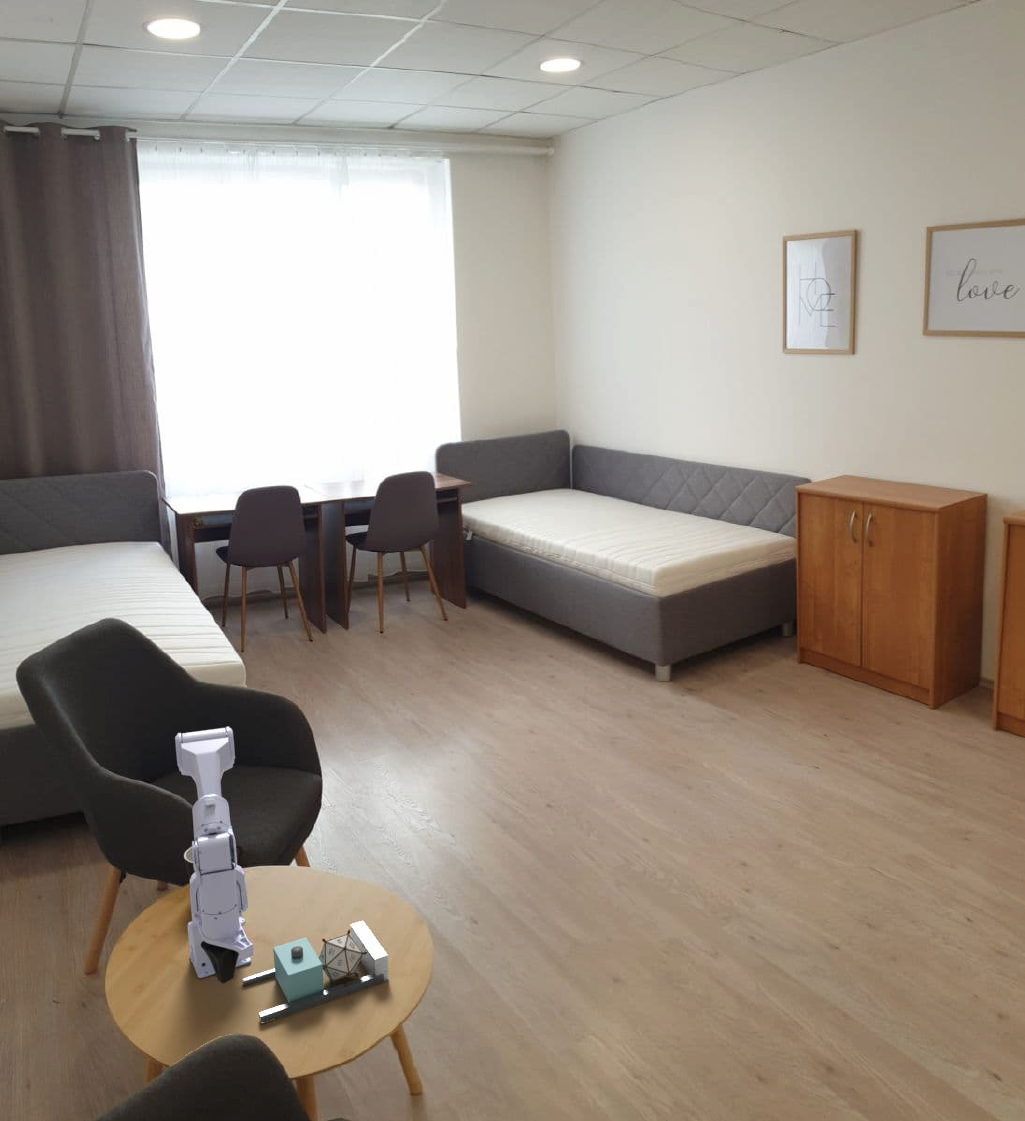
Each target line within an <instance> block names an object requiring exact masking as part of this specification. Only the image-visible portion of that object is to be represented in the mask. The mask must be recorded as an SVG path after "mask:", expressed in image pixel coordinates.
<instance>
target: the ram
mask: <svg viewBox="0 0 1025 1121" xmlns="http://www.w3.org/2000/svg"><path fill="white" fill-rule="evenodd" d="M272 949H273V950H272V951H273V962H274V968H275V976H274V977H275V979H276V981H277V983H278V984H279V986H280V989H281V990H282V992H283V995H284V996H285V998H286V1000H287V1003H288V1002H291V1001H294V1000H297V999H300V998H303V997H306V996H309V995H312V994H315V993H318V992H321V991H324V990H325V987H324V986H325V985H324V984H325V983H324V970H323V968H322V963H321V961H320V960H319V957H318V954H317V953H316V951H315V950H314V948H313V947H312V945H311V943H310V941H309V940H308V938H307V937H306V936H305V937H302V938H299V939H295V940H293V941H289V942H286V943H283V944H281V945H276V946H273V947H272Z"/></svg>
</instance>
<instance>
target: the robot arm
mask: <svg viewBox="0 0 1025 1121" xmlns="http://www.w3.org/2000/svg"><path fill="white" fill-rule="evenodd" d="M174 740H175V752H176V753H175V754H176V762H177V767H178V769H179V772H181V775H182V776H188V777H189V776H190V777H191V778H192V780H194V783H195V785H196V790H197V791H196V792H197V800H196V802H195V803H194V804H193V806H192V812H191V813H192V821H193V824H192V825H193V838H194V840H192V841H191V847H192V854H193V865H194V870H195V873H194V874H193V875H192V876H191V879H190V880H189V897H190V911H191V921H189V922H187V936H188V946H189V958H190V962H191V963H192V965H193V968H194V970H195V972H196V975H197V978H198V979H203V978H206V977H210V976H212V975H215V976H216V978H217V981H219V982H220V983H221V984H222V985H224V984H226V983H227V982H229V981H231V980H232V979H234V977H235V971H236V968H238V967H241V966H244V965H246V964H247V965H248V964H250V963H251V962H252V959H251V957H252V956H254V955H255V954H254V944H253V943H252V942H250V940H249V939H248V938H249V937H248V936H247V935H246V932H245V931H244V928H243V927H244V926H245V925H246V923H247V922H246V919H245V918H243V913H242V912H244V913H245V912H246V911H247V909H248V907H249V904H248V902H249V901H248V893H247V892H248V891H247V882H246V878H245V872H244V870H243V867H242V866H240V865H238V864H237V859H238V854H237V848H236V845H237V844H236V838H235V834H234V831H233V826H232V825H231V824H232V823H231V816H230V806H229V803H228V802H229V801H227V799H226V798H224V797H223V796H222V795H223V794H222V784H221V781H222V777H223V774H224V772H226V771H229V770H230V769H232V768H233V767H234V764H235V759H236V755H235V754H236V753H235V740H234V731H233V729H232V728H231V727H230V726H226V727H220V728H214V729H212V728H211V729H206V730H199V731H198V730H197V731H191V732H185V733H184V732H183V733H181V732H178V733H177V734H176V736H175V737H174ZM232 859H233V861H234V862H233V861H232Z"/></svg>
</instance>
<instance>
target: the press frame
mask: <svg viewBox="0 0 1025 1121" xmlns="http://www.w3.org/2000/svg"><path fill="white" fill-rule="evenodd" d="M350 936H351V938H352V939H353V940H354V942H355V943H356V944H357V946H358V947H359V948H360V950H361V951H362V952H365V951H366V952H368V953H367V954H365V955H364V954H363V955H362V958H361V961H360V963H361V964H362V966H363V967H364V969H365V971H366V972H367V973H368V974H367V975H365V976H362V977H360V978H359V977H358V978H357V979H353V980H350V981H347V982H345V983H342V984H338V985H336V986H333V987H332V986H331V987H330V988H327V989H324V991H321V992H318V993H315V994H312V995H309V996H306V997H303V998H300V999H297V1000H294V1001H291V1002H288V1001H287V1002H286V1003H283V1004H280V1005H277V1006H275V1007H272V1008H269V1009H265V1010H263V1011H260V1012H258V1017H259V1019H260V1020H259V1022H260V1021H261V1022H267V1021H270V1020H273V1019H276V1020H278V1019H277V1018H279V1019H281V1018H280V1017H282V1018H284V1016H285V1017H287V1015H288V1016H291V1015H292V1014H296V1013H299V1012H302V1011H304V1010H307V1009H310V1008H313V1007H316V1006H319V1005H322V1004H324V1003H328V1002H330V1001H331V1002H332V1001H333V1000H336V999H338V998H342V997H345V996H347V995H350V994H354V993H356V992H359V991H361V990H366V989H368V988H371V987H374V986H376V985H380V984H382V983H385V982H386V981H388V980H390V979H389V964H388V963H389V961H388V960H389V959H388V954H387V952H386V951H385V950H384V948H383V947H382V946H381V944H380V943H379V941H378V940H377V939H376V937H375V936H374V934H373V933H372V931H371V929H369V927H368V926H367V925H366V923H365V922H364V921H363V920H362V921H361V920H360V921H358V922H355V923H352V924H350ZM273 977H275V967H273V968H272V969H270V970H266V971H263V972H259V973H256V974H253V975H249V976H247V977H244V978H242V979H241V981H242V986H243V987H246V986H249V985H253V984H256V983H258V981H259V982H261V980H262V981H265V980H267V979H270V978H273ZM273 1021H274V1020H273ZM270 1022H271V1021H270ZM267 1023H268V1022H267Z"/></svg>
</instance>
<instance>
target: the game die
mask: <svg viewBox="0 0 1025 1121" xmlns="http://www.w3.org/2000/svg"><path fill="white" fill-rule="evenodd" d="M321 941H322V942H323V943H324V944H323V947H322V949H321V951H320V955H319V957H318V958H319V960H320V961H321V963H322V968H323V973H325V974H326V975H327V977H328V979H330V981H331V982H330V983H329V986H330V987H332V986H334V982H337V981H340V980H342V979H346V978H348V977H349V978H352V976H353V975H354V976H355V977H357V978H359V973H358V972H357V971H358V969H359V966H360V963H361V958H362V955H363V954H364V955H365V954H367V953H368V952H366V951H365V952H362V951H361V950H360V948H359V947H358V946H357V944H356V943H355V942H354V940H353V939H352V938H351V928H350V929H348V930H347V933H346V934H343V935H341V936H337V937H334V938H330V939H329V940H326V939H325V938H322V939H321Z"/></svg>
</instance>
